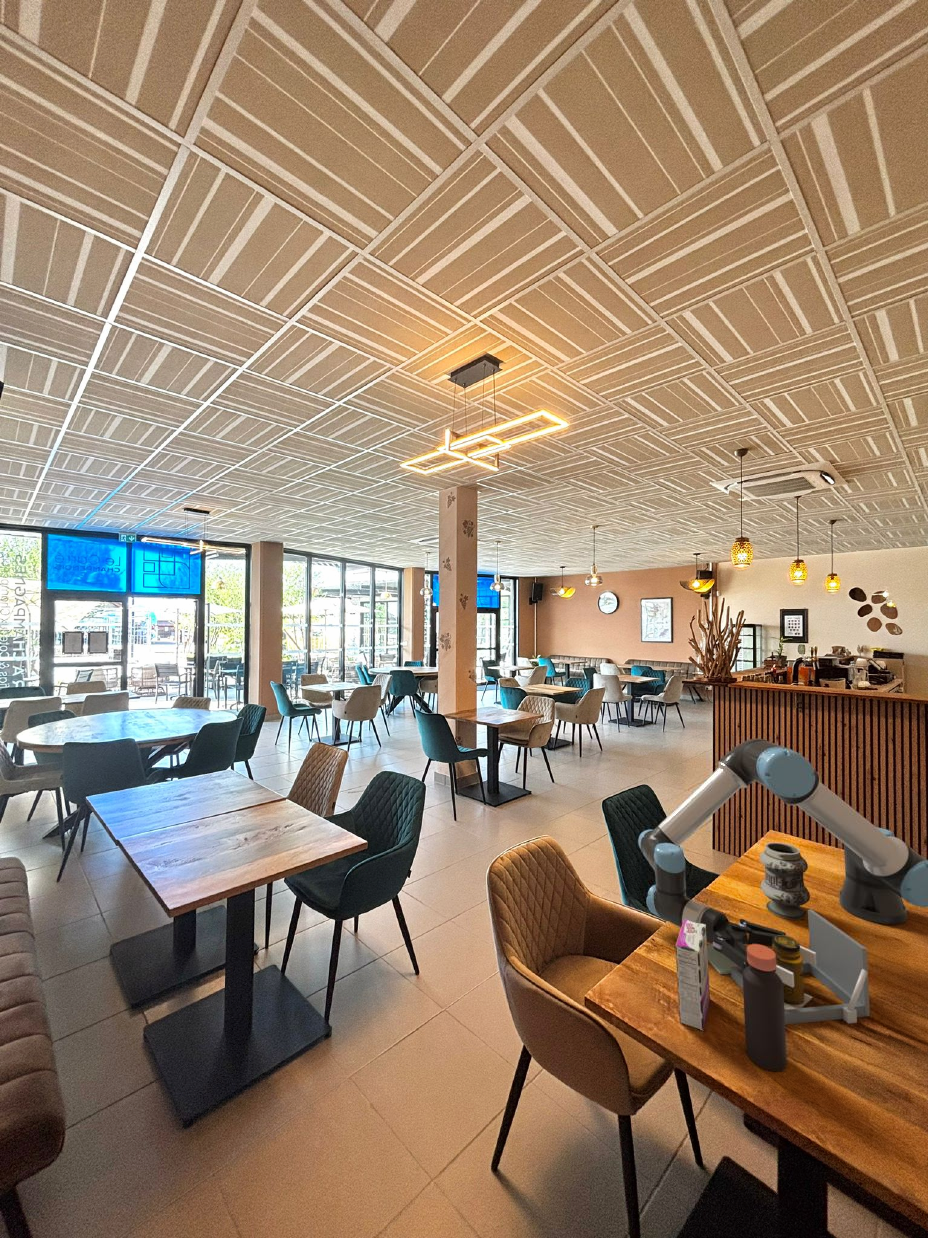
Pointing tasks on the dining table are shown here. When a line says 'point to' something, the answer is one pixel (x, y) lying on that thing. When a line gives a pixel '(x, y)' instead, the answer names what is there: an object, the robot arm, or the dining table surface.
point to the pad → (720, 961)
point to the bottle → (764, 1009)
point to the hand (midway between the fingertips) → (804, 969)
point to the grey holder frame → (831, 974)
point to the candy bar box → (692, 974)
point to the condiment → (791, 970)
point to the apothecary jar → (784, 880)
